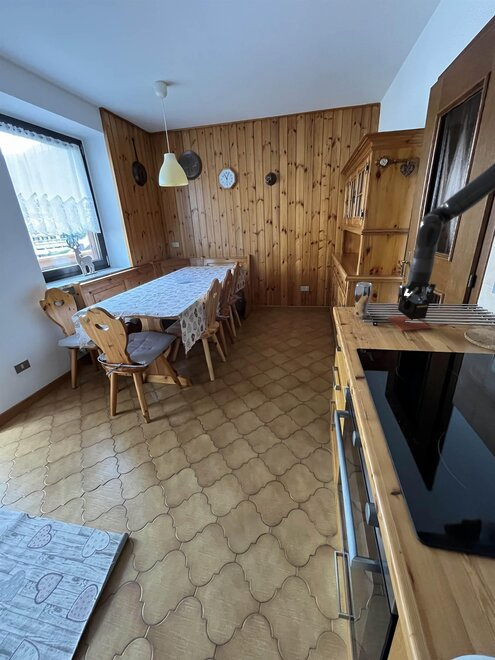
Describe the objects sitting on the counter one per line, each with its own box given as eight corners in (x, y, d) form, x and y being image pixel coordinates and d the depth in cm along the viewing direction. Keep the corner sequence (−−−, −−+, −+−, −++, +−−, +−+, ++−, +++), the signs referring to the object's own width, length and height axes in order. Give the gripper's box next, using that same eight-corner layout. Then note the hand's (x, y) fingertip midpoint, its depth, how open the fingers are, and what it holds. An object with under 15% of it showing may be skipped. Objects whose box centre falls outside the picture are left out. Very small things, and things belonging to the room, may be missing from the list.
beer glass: (365, 311, 134) (370, 281, 127) (370, 318, 127) (374, 286, 121) (350, 312, 134) (354, 281, 127) (354, 318, 128) (358, 287, 121)
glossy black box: (397, 309, 123) (400, 294, 120) (411, 308, 123) (414, 293, 120) (412, 320, 113) (415, 304, 110) (426, 319, 114) (430, 303, 110)
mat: (414, 316, 126) (414, 315, 126) (431, 328, 116) (431, 327, 115) (387, 318, 126) (387, 317, 126) (402, 331, 115) (402, 330, 115)
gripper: (433, 264, 113) (423, 303, 121) (397, 267, 113) (390, 306, 121) (445, 269, 107) (434, 310, 114) (408, 272, 106) (400, 313, 114)
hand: (412, 308), depth 117 cm, fingers closed on glossy black box, 6 cm apart
